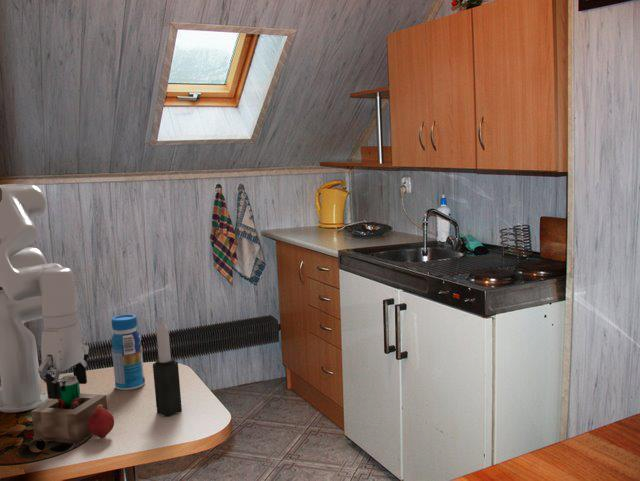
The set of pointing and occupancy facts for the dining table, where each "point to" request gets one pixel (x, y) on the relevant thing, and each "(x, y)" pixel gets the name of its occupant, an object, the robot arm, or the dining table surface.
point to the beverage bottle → (127, 353)
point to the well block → (66, 419)
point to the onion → (100, 422)
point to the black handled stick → (166, 375)
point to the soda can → (69, 392)
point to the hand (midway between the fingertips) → (68, 390)
